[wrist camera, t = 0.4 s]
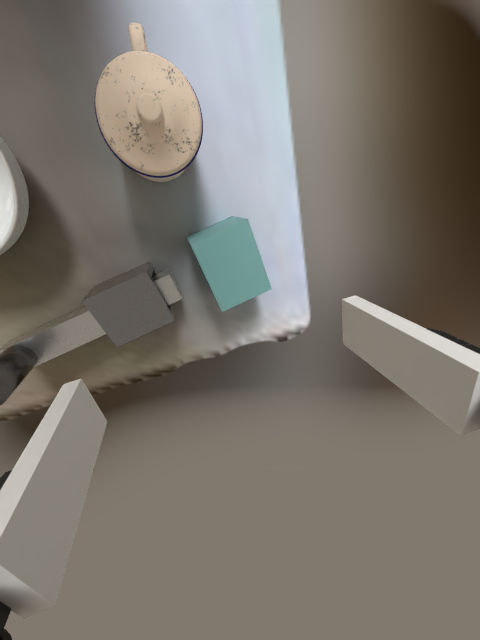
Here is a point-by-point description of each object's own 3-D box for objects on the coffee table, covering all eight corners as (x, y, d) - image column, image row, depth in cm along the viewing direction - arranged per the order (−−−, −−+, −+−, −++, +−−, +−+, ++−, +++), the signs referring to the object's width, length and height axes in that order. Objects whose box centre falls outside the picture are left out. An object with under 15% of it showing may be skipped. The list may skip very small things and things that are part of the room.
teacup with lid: (199, 182, 33) (213, 171, 23) (125, 186, 31) (104, 177, 21) (184, 58, 28) (193, -27, 18) (95, 55, 26) (48, -42, 16)
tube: (10, 339, 34) (-49, 389, 25) (168, 268, 35) (169, 290, 26) (30, 360, 36) (-18, 413, 26) (180, 291, 37) (185, 318, 28)
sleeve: (95, 285, 35) (81, 300, 29) (149, 261, 35) (146, 271, 30) (124, 327, 38) (116, 347, 33) (173, 304, 39) (174, 320, 33)
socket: (186, 236, 35) (190, 244, 28) (231, 216, 36) (247, 219, 29) (212, 293, 39) (222, 312, 32) (253, 274, 40) (271, 288, 33)
